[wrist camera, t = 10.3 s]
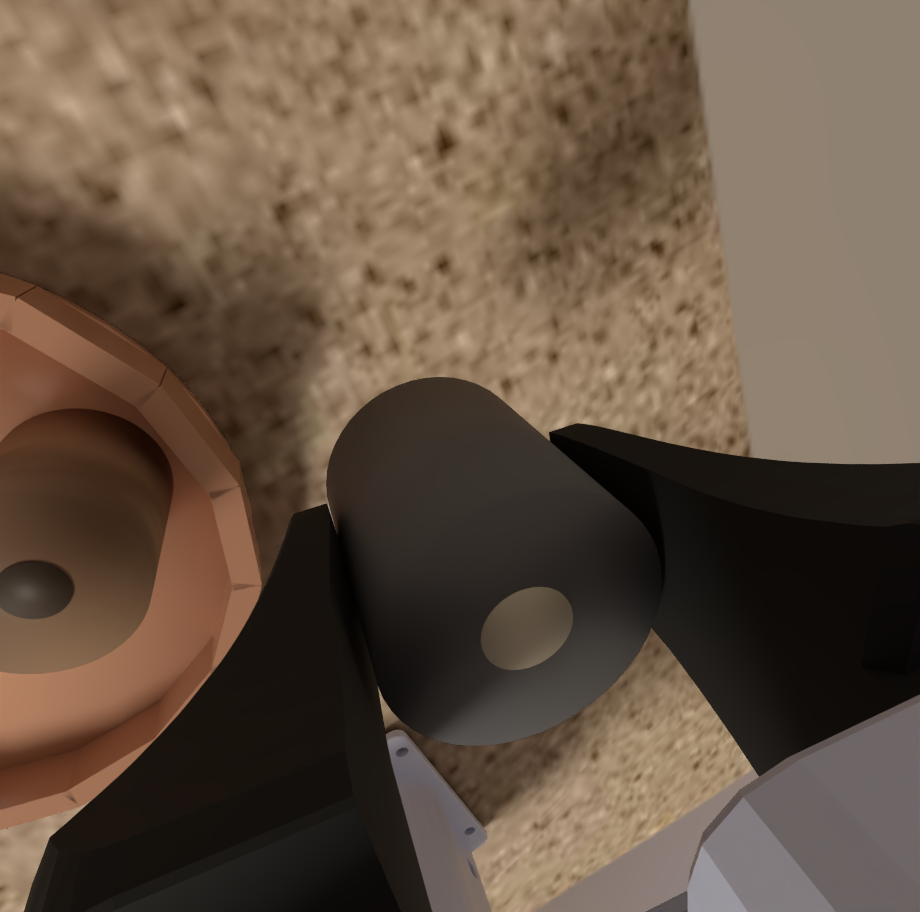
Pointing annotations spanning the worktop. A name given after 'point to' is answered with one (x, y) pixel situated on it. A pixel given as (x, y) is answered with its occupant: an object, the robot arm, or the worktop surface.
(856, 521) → the robot arm
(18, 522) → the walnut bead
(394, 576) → the dark gray rounded cylinder
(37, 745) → the ring tray
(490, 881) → the worktop surface
